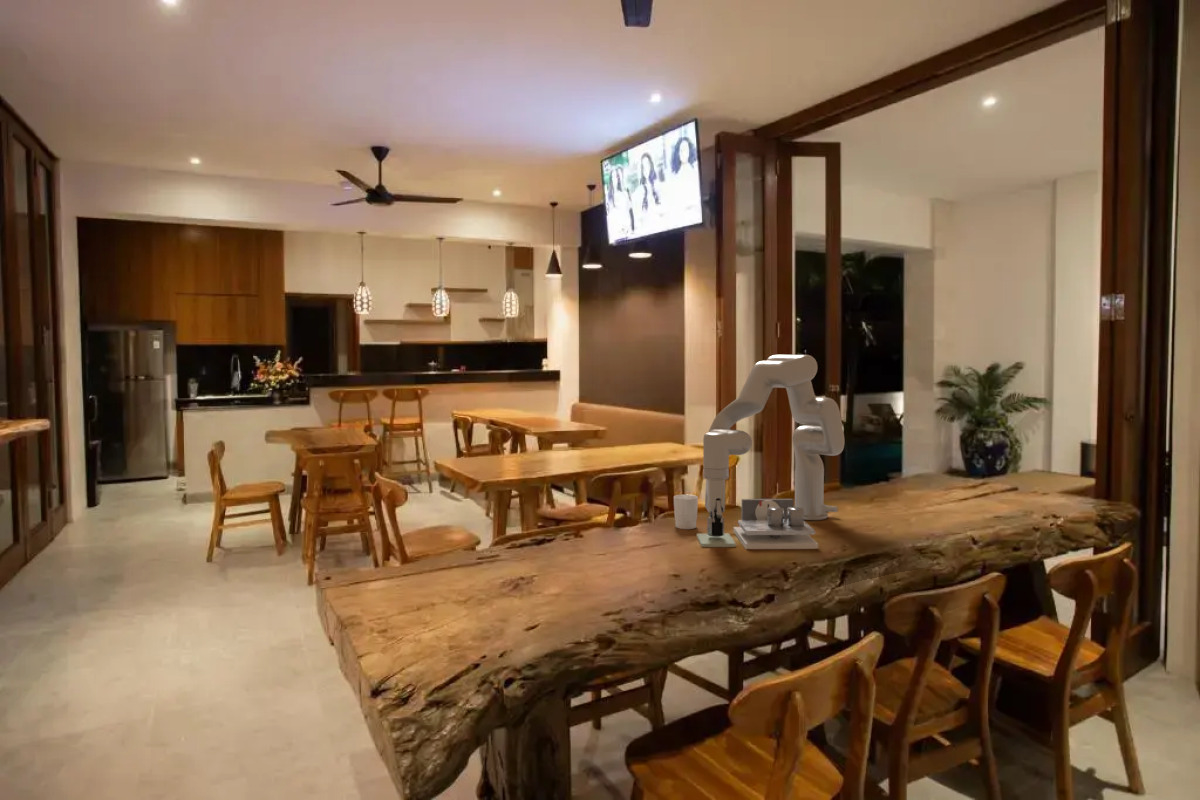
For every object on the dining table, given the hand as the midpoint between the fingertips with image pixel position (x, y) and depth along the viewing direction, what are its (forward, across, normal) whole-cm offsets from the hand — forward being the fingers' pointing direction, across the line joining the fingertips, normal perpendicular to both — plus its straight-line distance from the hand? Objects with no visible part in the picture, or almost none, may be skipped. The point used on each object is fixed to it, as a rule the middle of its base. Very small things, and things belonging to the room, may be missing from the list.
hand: (715, 532), depth 227 cm
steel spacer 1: (-2, 0, +18) cm, 18 cm away
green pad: (+3, 0, 0) cm, 3 cm away
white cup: (+3, -19, -7) cm, 20 cm away
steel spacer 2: (-2, 0, +24) cm, 24 cm away
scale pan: (-1, 0, +18) cm, 18 cm away
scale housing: (+3, -2, +18) cm, 18 cm away
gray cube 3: (+1, 0, 0) cm, 1 cm away
